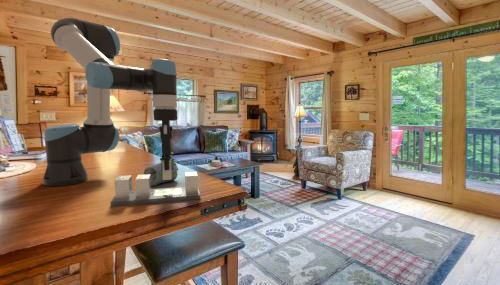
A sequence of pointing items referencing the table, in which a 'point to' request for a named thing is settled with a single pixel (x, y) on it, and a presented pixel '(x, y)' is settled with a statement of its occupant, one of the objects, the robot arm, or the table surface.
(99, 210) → the table surface
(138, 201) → the finger rail
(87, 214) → the table surface
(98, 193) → the table surface
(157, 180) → the grey rounded lump
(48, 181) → the robot arm
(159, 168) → the geometric puzzle
